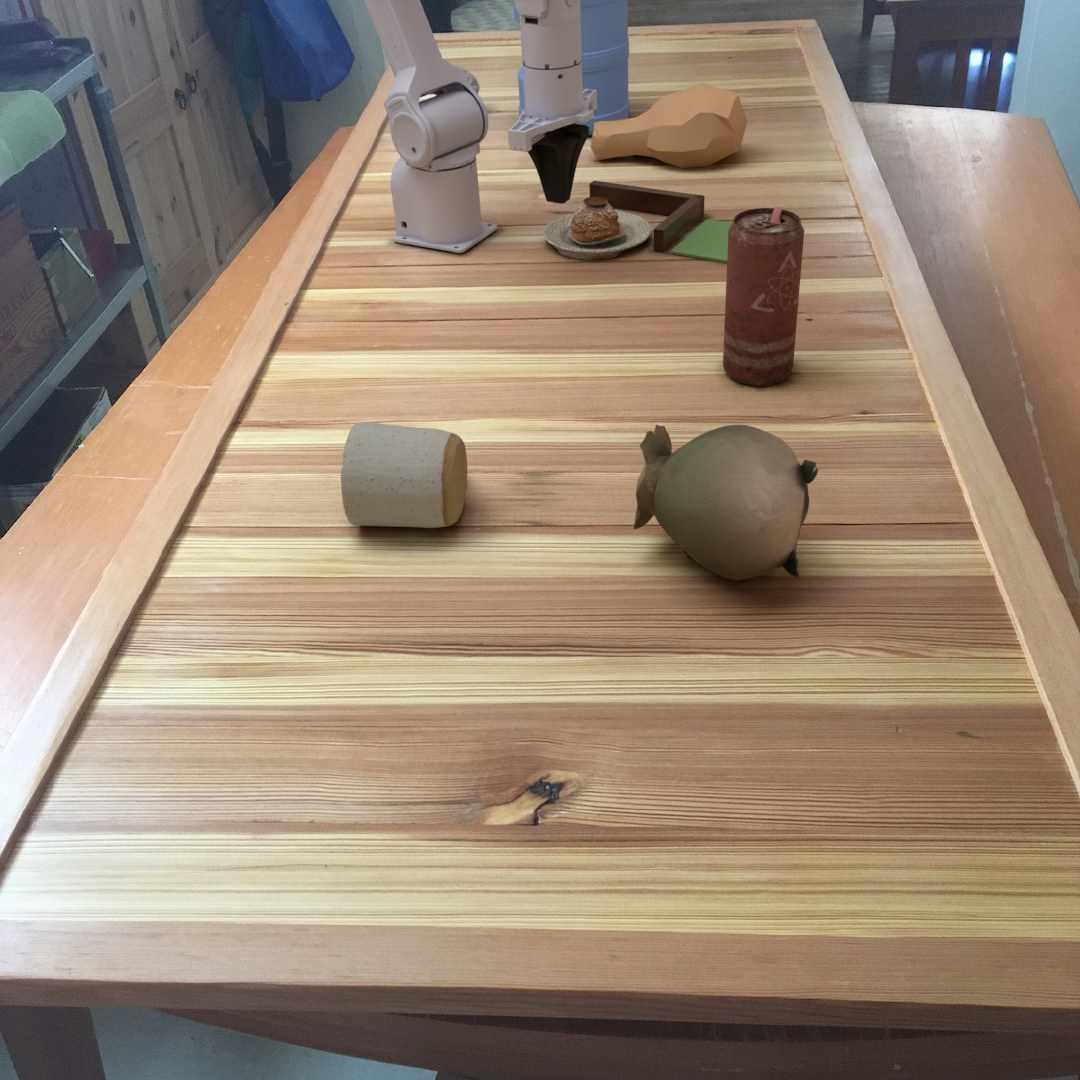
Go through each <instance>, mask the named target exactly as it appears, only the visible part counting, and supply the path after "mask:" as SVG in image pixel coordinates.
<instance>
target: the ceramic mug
mask: <svg viewBox="0 0 1080 1080" xmlns="http://www.w3.org/2000/svg"><path fill="white" fill-rule="evenodd" d="M467 457H468V456H467V449H466V444H465V441H464V440H463V439H462V438H461V436H460V435H459V434H456V433H454V432H450V431H446V430H443V429H438V428H431V427H415V426H414V427H413V426H407V425H406V426H405V425H396V424H387V423H386V424H385V423H377V422H369V421H359V422H356V423H354V425H352V427H351V429H350V431H349V432H348V435H347V438H346V441H345V443H344V449H343V451H342V459H341V471H340V485H341V486H340V488H341V497H342V498H341V499H342V505H343V506H342V507H343V511H344V514H345V517H346V519H347V521H348V522H349V523H350V524H351V525H354V526H370V527H371V526H372V527H398V528H399V527H401V528H405V527H406V528H423V529H437V528H445V527H450V526H452V525H454V524H455V523H456V522H458V521H459V519H461V516H462V513H463V509H464V506H465V500H466V494H467V486H468V485H467V483H468V458H467Z"/></svg>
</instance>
